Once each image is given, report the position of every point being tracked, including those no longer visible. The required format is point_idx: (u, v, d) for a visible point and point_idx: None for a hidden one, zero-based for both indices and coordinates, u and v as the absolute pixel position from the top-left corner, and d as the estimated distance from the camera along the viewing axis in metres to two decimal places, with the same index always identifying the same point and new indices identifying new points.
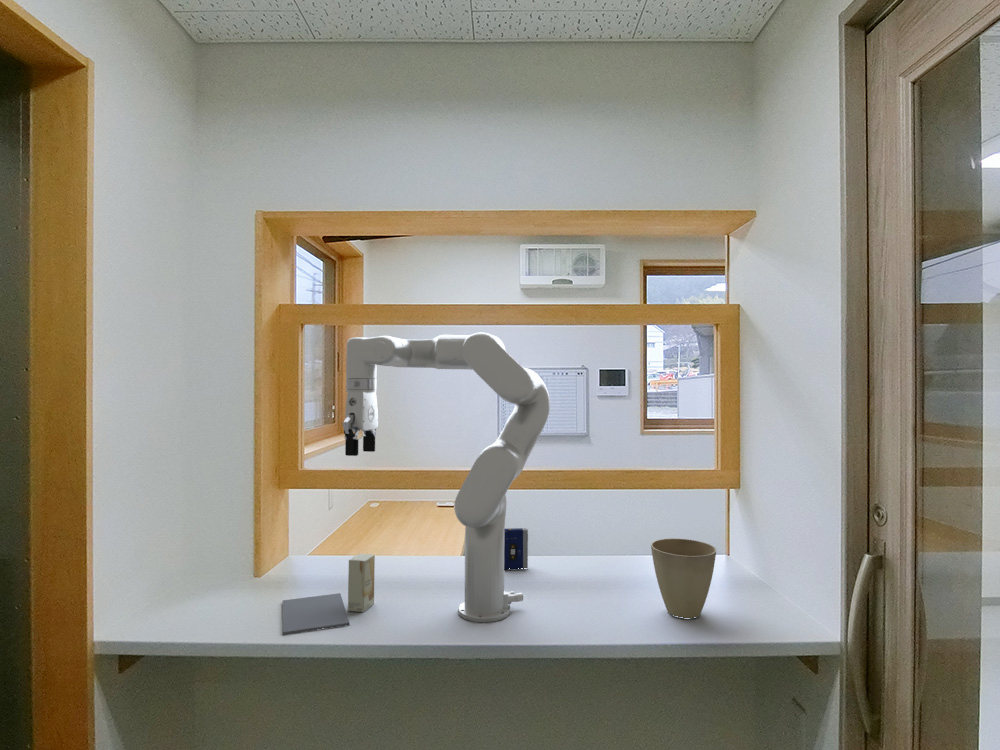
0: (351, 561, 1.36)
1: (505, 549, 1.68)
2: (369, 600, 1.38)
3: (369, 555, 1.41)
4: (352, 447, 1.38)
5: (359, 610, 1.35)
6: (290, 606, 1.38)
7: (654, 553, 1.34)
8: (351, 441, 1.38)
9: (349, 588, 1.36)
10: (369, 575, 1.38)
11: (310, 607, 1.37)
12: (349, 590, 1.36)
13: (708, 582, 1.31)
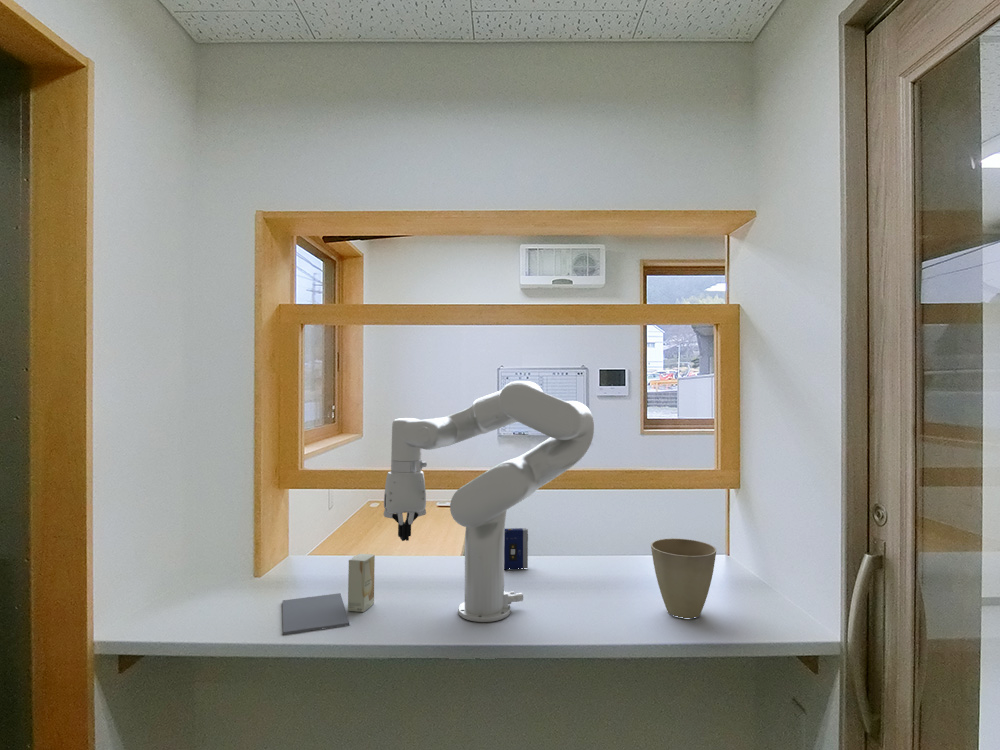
0: (351, 561, 1.36)
1: (505, 549, 1.68)
2: (369, 600, 1.38)
3: (369, 555, 1.41)
4: None
5: (359, 610, 1.35)
6: (290, 606, 1.38)
7: (654, 553, 1.34)
8: None
9: (349, 588, 1.36)
10: (369, 575, 1.38)
11: (310, 607, 1.37)
12: (349, 590, 1.36)
13: (708, 582, 1.31)
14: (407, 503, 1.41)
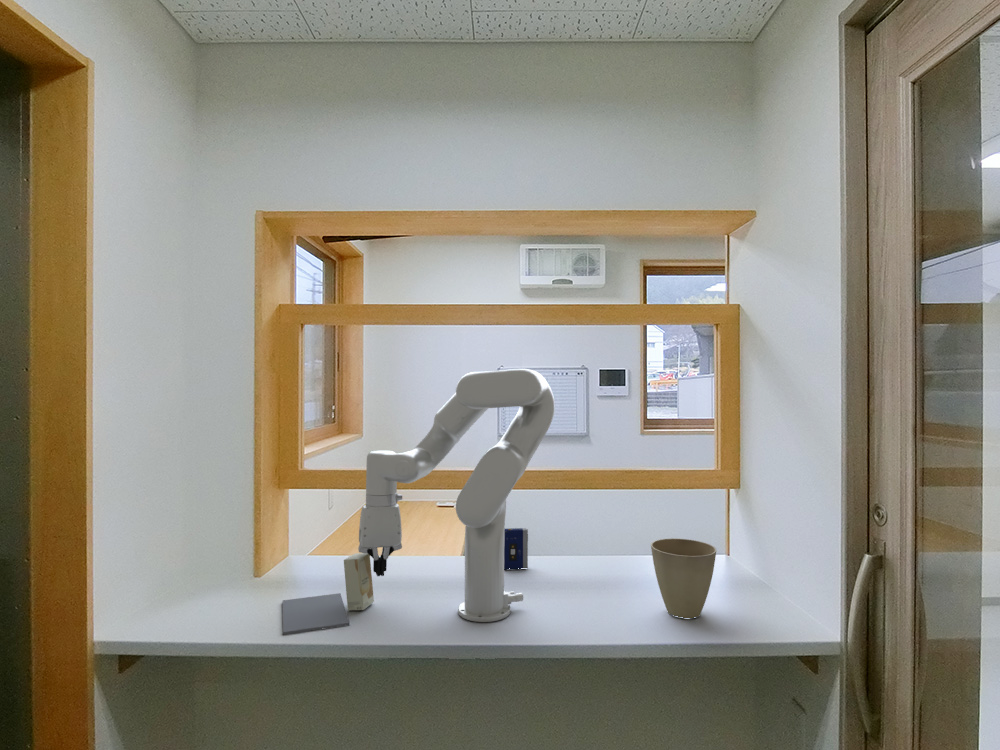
0: (346, 561, 1.37)
1: (505, 549, 1.68)
2: (368, 598, 1.38)
3: (364, 553, 1.41)
4: None
5: (359, 608, 1.35)
6: (290, 606, 1.38)
7: (654, 553, 1.34)
8: None
9: (347, 588, 1.36)
10: (366, 573, 1.39)
11: (310, 607, 1.37)
12: (347, 590, 1.36)
13: (708, 582, 1.31)
14: (382, 538, 1.39)
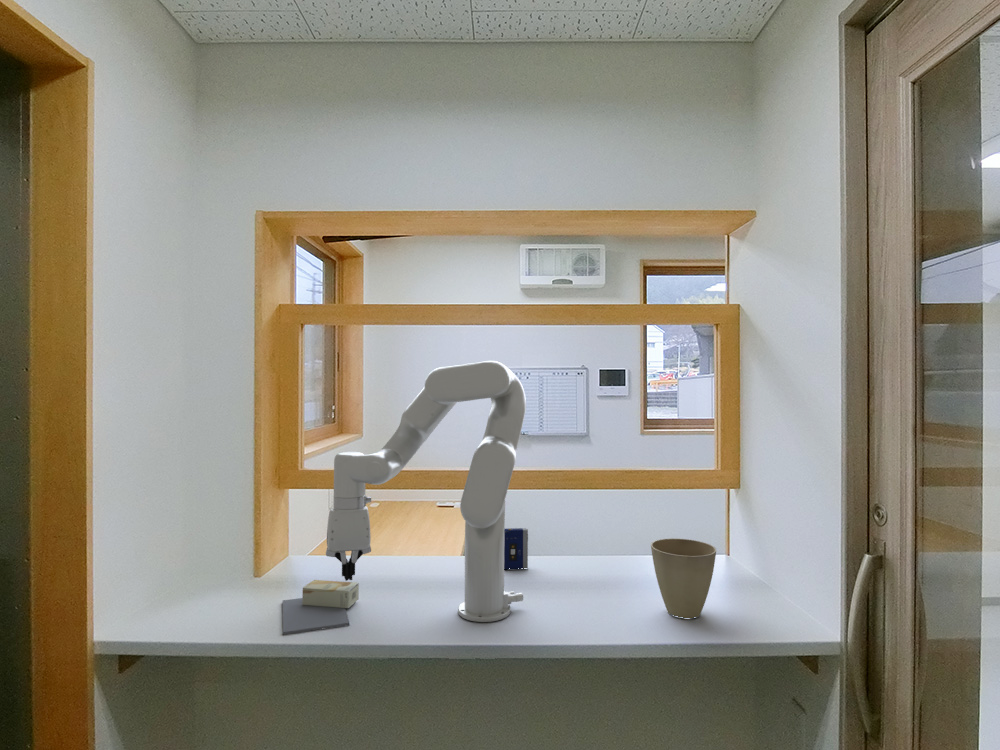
0: (303, 601, 1.38)
1: (505, 549, 1.68)
2: (346, 586, 1.39)
3: None
4: None
5: (347, 595, 1.36)
6: (290, 606, 1.38)
7: (654, 553, 1.34)
8: None
9: (327, 605, 1.37)
10: (324, 584, 1.40)
11: (310, 607, 1.37)
12: (329, 605, 1.37)
13: (708, 582, 1.31)
14: (350, 541, 1.36)
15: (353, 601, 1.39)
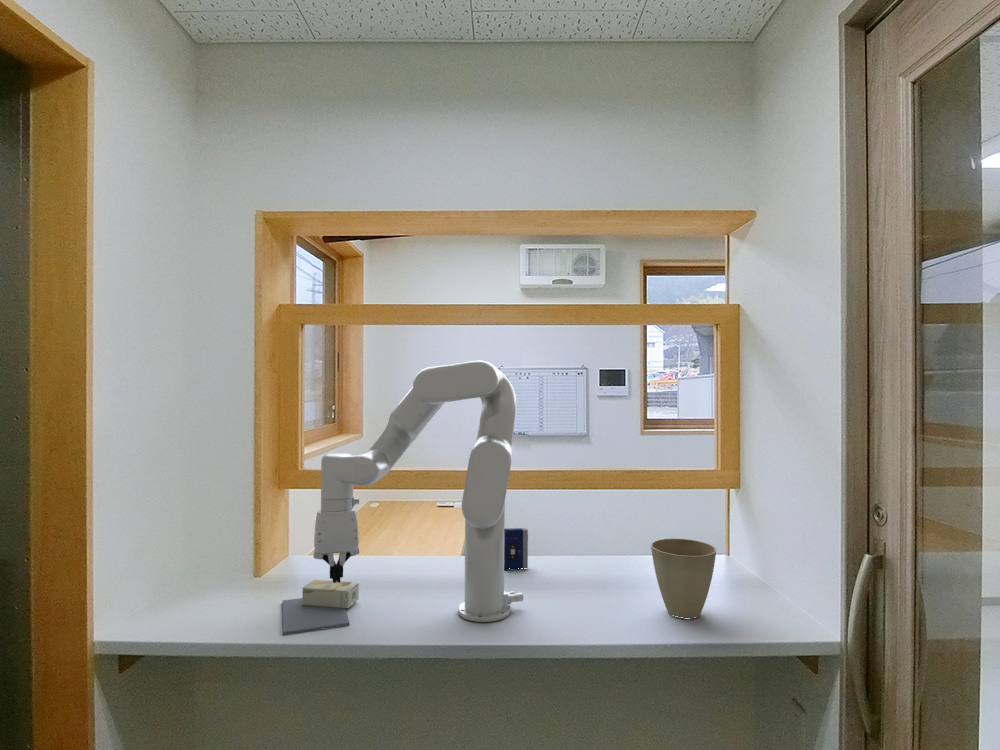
0: (303, 601, 1.38)
1: (505, 549, 1.68)
2: (346, 586, 1.39)
3: None
4: None
5: (347, 595, 1.36)
6: (290, 606, 1.38)
7: (654, 553, 1.34)
8: None
9: (327, 605, 1.37)
10: (324, 584, 1.40)
11: (310, 607, 1.37)
12: (329, 605, 1.37)
13: (708, 582, 1.31)
14: (337, 543, 1.35)
15: (353, 601, 1.39)
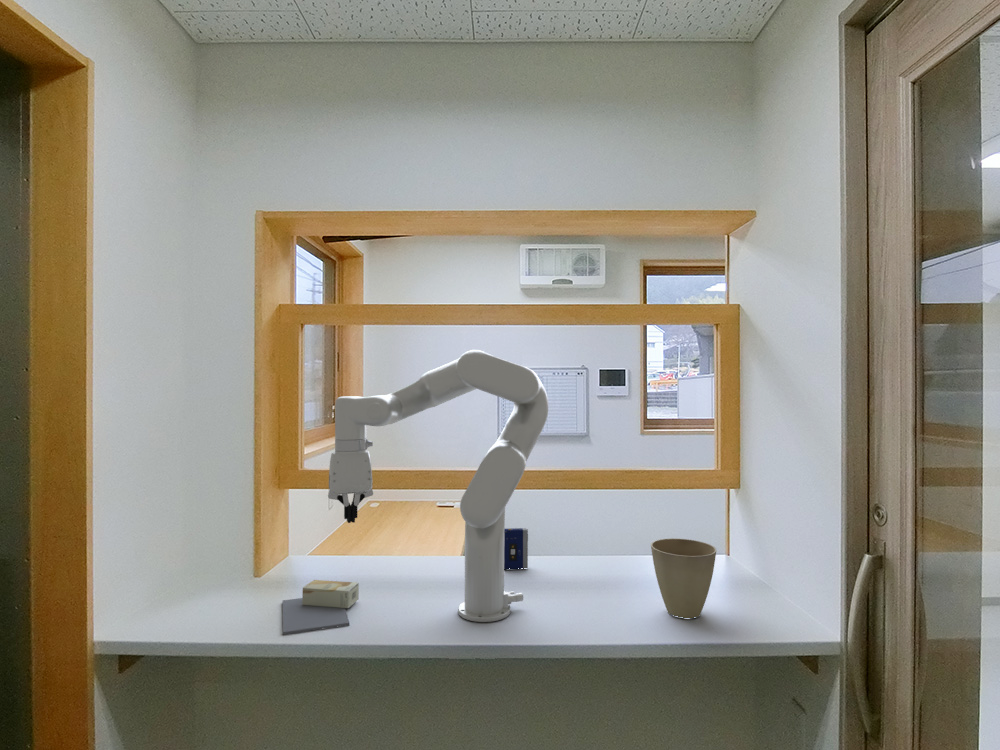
0: (303, 601, 1.38)
1: (505, 549, 1.68)
2: (346, 586, 1.39)
3: None
4: None
5: (347, 595, 1.36)
6: (290, 606, 1.38)
7: (654, 553, 1.34)
8: None
9: (327, 605, 1.37)
10: (324, 584, 1.40)
11: (310, 607, 1.37)
12: (329, 605, 1.37)
13: (708, 582, 1.31)
14: (352, 483, 1.37)
15: (353, 601, 1.39)
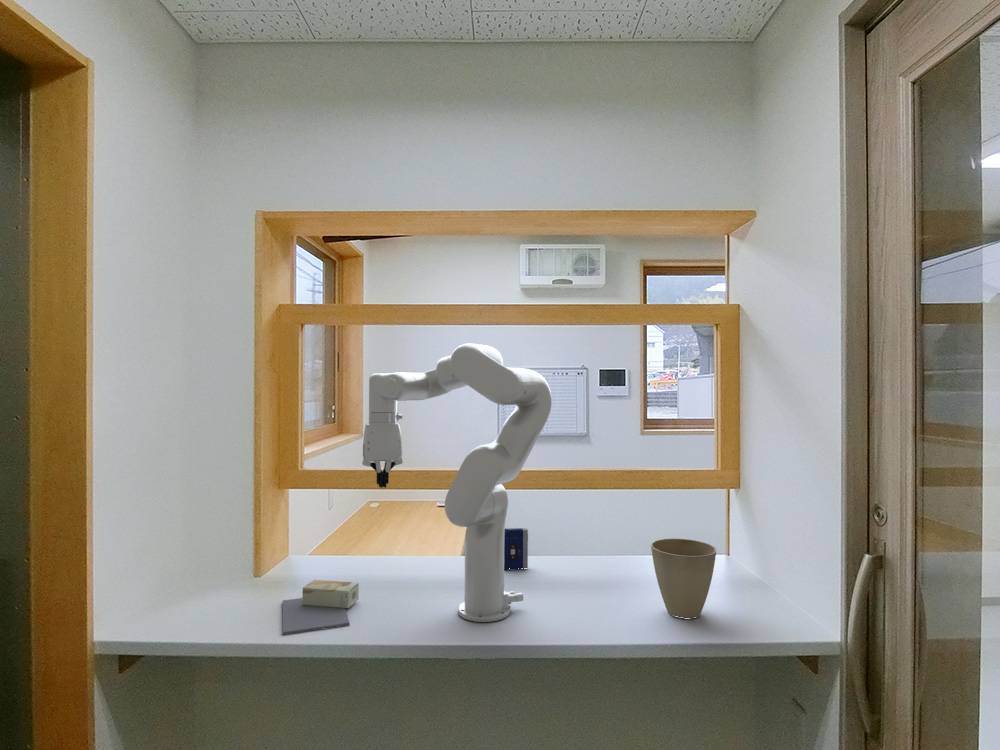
0: (303, 601, 1.38)
1: (505, 549, 1.68)
2: (346, 586, 1.39)
3: None
4: None
5: (347, 595, 1.36)
6: (290, 606, 1.38)
7: (654, 553, 1.34)
8: None
9: (327, 605, 1.37)
10: (324, 584, 1.40)
11: (310, 607, 1.37)
12: (329, 605, 1.37)
13: (708, 582, 1.31)
14: (384, 452, 1.51)
15: (353, 601, 1.39)
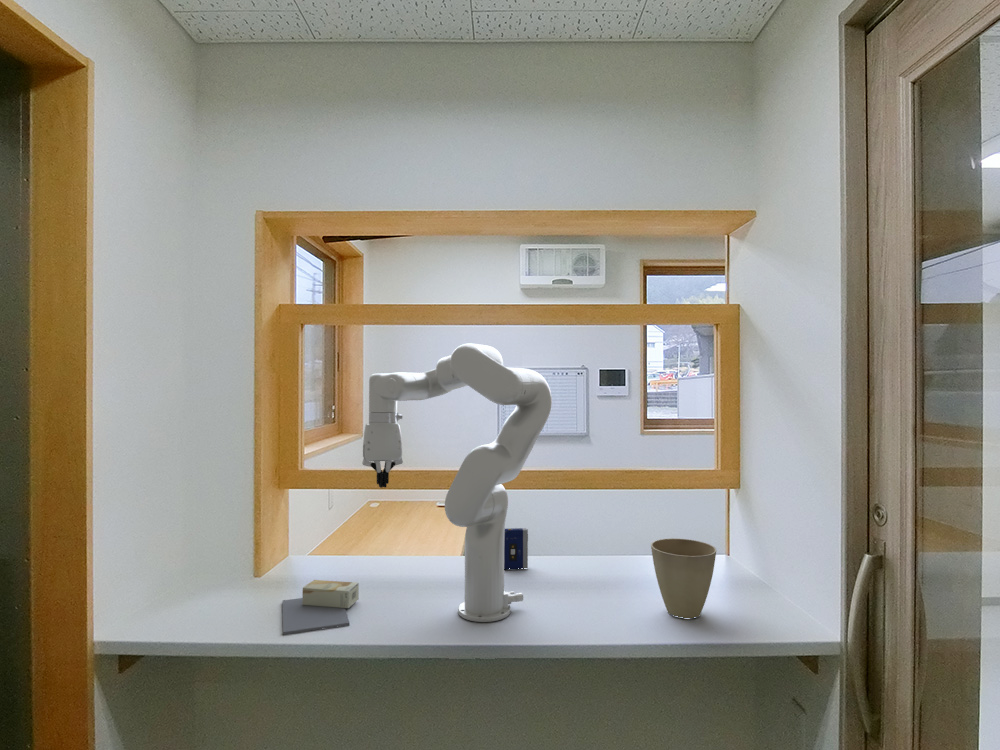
0: (303, 601, 1.38)
1: (505, 549, 1.68)
2: (346, 586, 1.39)
3: None
4: None
5: (347, 595, 1.36)
6: (290, 606, 1.38)
7: (654, 553, 1.34)
8: None
9: (327, 605, 1.37)
10: (324, 584, 1.40)
11: (310, 607, 1.37)
12: (329, 605, 1.37)
13: (708, 582, 1.31)
14: (384, 452, 1.51)
15: (353, 601, 1.39)
